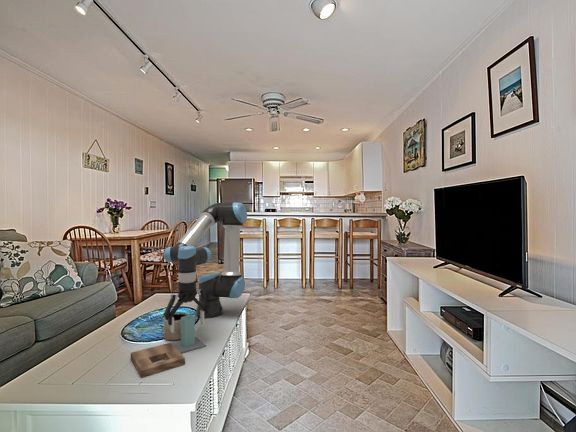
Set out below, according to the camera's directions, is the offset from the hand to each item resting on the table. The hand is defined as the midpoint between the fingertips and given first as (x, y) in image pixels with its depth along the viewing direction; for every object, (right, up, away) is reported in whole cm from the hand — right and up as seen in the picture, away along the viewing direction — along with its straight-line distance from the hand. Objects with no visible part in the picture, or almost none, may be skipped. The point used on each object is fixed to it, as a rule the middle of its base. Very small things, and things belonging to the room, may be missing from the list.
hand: (187, 328), depth 141 cm
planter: (-9, -8, +10) cm, 15 cm away
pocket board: (-8, -8, -14) cm, 18 cm away
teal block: (0, -7, 0) cm, 7 cm away
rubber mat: (0, -8, 0) cm, 8 cm away
